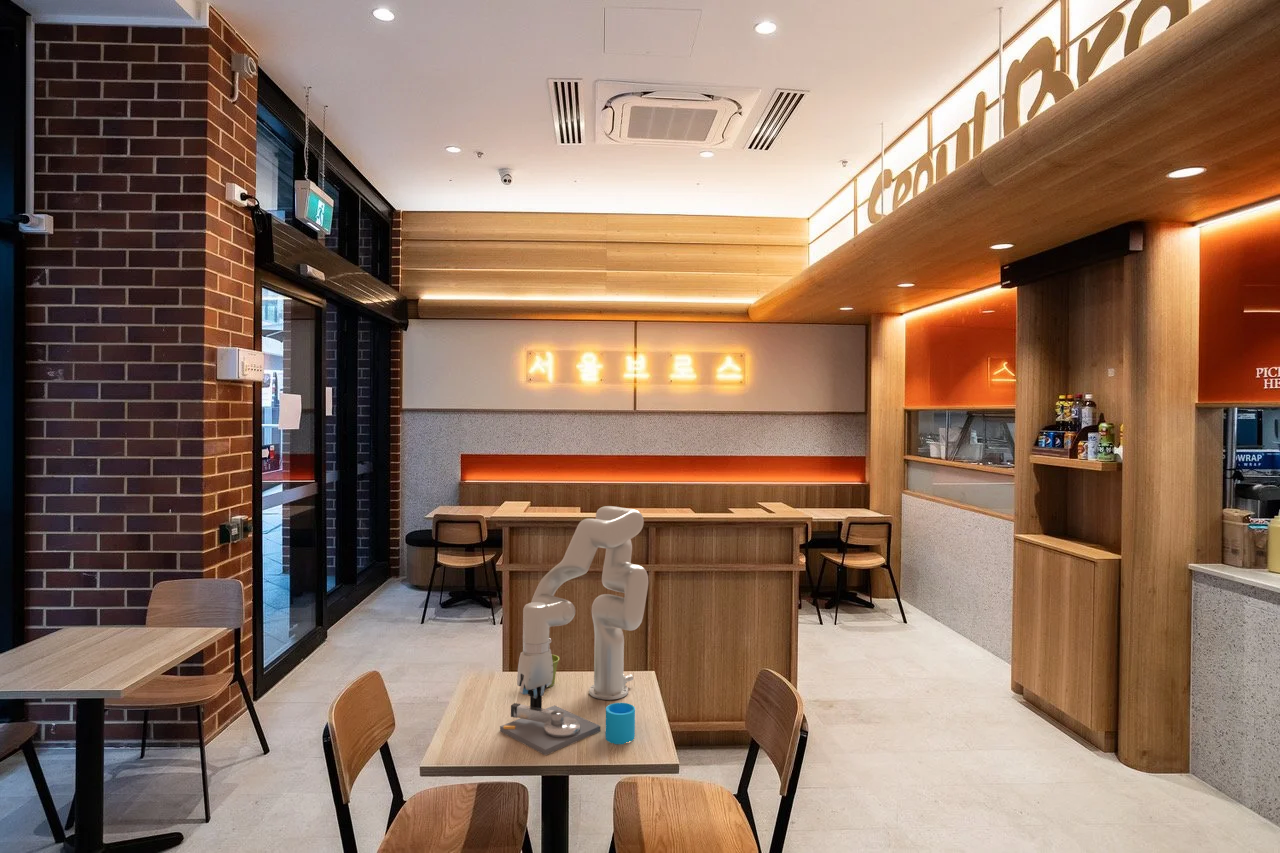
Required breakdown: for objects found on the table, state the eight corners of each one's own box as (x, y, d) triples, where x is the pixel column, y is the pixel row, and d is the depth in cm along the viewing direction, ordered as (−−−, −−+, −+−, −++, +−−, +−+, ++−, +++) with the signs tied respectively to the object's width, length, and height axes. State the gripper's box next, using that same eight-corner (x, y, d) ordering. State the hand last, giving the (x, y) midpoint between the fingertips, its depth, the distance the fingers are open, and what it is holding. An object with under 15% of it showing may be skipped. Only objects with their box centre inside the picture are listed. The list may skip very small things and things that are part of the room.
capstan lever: (521, 713, 207) (521, 697, 207) (586, 725, 200) (586, 709, 199) (503, 727, 198) (503, 710, 198) (569, 740, 190) (569, 723, 190)
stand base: (554, 710, 213) (554, 703, 213) (600, 731, 200) (600, 723, 200) (499, 731, 199) (499, 724, 199) (544, 755, 185) (544, 747, 185)
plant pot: (524, 686, 232) (525, 660, 232) (541, 677, 240) (541, 652, 240) (548, 692, 227) (548, 665, 227) (564, 682, 236) (564, 656, 236)
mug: (634, 745, 192) (634, 715, 192) (604, 744, 192) (604, 714, 192) (635, 725, 204) (636, 697, 204) (607, 724, 204) (608, 696, 204)
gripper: (547, 637, 211) (547, 698, 211) (507, 649, 200) (506, 713, 200) (564, 643, 205) (564, 705, 206) (523, 656, 195) (523, 721, 195)
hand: (536, 709), depth 203 cm, fingers closed
